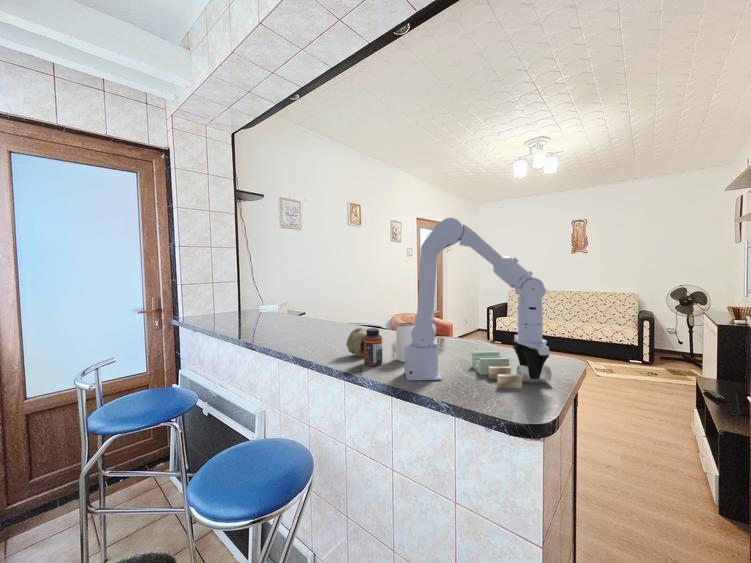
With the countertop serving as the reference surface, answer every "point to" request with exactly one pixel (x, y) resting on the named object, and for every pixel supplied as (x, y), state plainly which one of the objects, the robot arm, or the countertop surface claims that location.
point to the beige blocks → (505, 377)
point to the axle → (525, 376)
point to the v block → (487, 361)
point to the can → (403, 339)
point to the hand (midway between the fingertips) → (530, 375)
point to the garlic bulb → (356, 342)
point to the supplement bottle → (373, 347)
